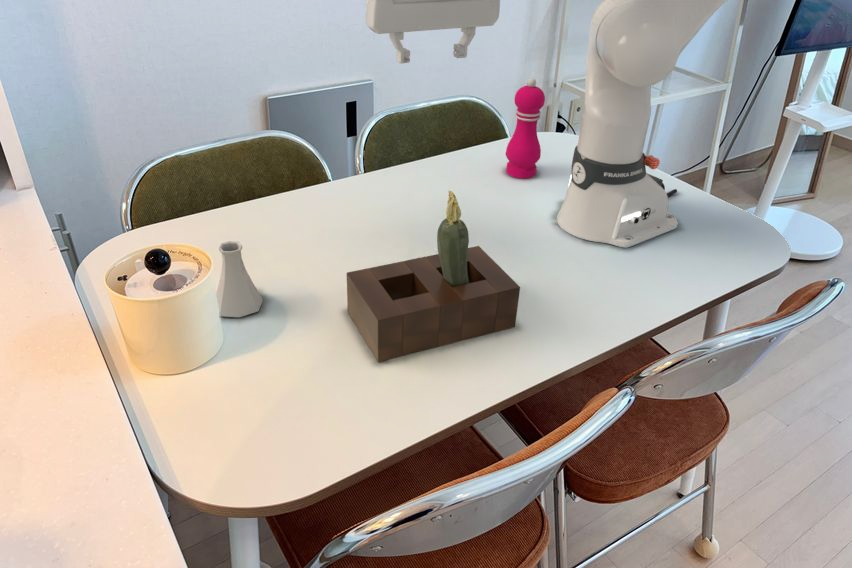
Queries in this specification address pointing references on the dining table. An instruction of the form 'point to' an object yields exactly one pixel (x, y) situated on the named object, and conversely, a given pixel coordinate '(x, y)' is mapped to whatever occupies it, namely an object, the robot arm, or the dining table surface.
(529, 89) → the pepper mill
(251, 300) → the flask
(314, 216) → the dining table surface
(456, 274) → the vegetable
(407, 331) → the holder
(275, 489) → the dining table surface
